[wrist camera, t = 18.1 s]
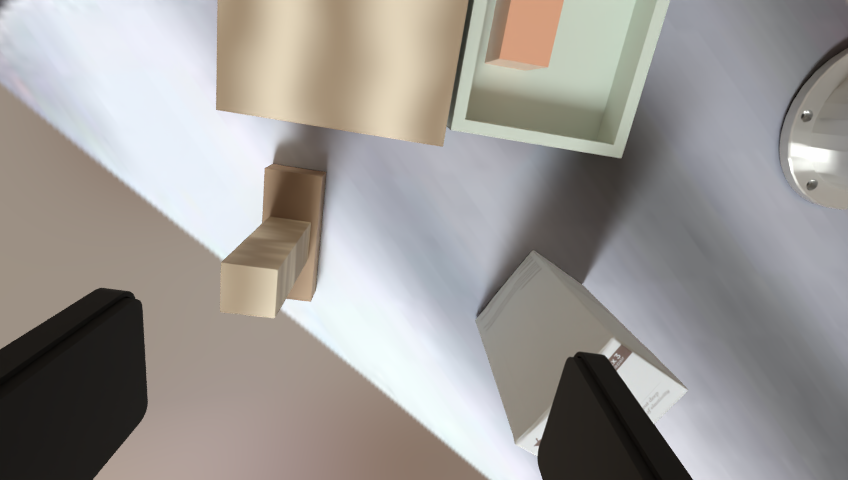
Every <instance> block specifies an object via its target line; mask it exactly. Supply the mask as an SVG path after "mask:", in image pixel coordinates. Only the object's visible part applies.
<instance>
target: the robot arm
mask: <svg viewBox="0 0 848 480" xmlns="http://www.w3.org/2000/svg"><path fill="white" fill-rule="evenodd" d="M779 151H780V162H781V166H782V170H783V173H784V176H785V178H786V180H787V181H788V183H789V184H790V186H791V188H792V189H793V190H794V191H795V192H796V193H798V194H799V195H800V196H801V197H802V198H804V199H806V200H808V201H810V202H811V203H814V204H818V205H821V206H824V207H828V208H834V209H840V210H844V209H848V48H847V49H845V50H844V51H842V52H840V53H839V54H837V55H836V56H834V57H833V58H831V59H830V60H828V61H827V62H826V63H825V64H824V65H823V66H821V67H820V68H819V69H818V70H817V71H816V72H815V73H814V74H813V75H812V76H811V77H810V79H809V80H808V81H807V82H806V83H805V84H804V85H803V87H802V88H801V90H800V91H799V93H798V94H797V96H796V98H795V99H794V101H793V102H792V105H791V107H790V109H789V111H788V113H787V115H786V118H785V121H784V125H783V128H782V132H781V138H780V148H779ZM145 364H146V363H145V346H144V328H143V310H142V304H141V302H140V301H139V300H137V299H135V297H134V294H133V293H131V292H129V291H122V290H114V289H106V288H99V289H96V290H94V291H93V292H91V293H90V294H88V295H86V296H85V297H83V298H82V299H80V300H78V301H77V302H75V303H74V304H72V305H70V306H69V307H68V308H66V309H64V310H62V311H61V312H59V313H58V314H56V315H55V316H53V317H51V318H50V319H48V320H47V321H45V322H44V323H42V324H40V325H39V326H37V327H36V328H34V329H32V330H31V331H29V332H27V333H26V334H24V335H23V336H21V337H19V338H18V339H16V340H15V341H13V342H11V343H10V344H8V345H7V346H5V347H4V348H2V349H0V480H93V478H94V477H95V476H96V475H97V474H98V472H99V471H100V470H101V469H102V468H103V466H104V465H105V464H106V463H107V462H108V460H109V459H110V458H111V457H112V456H113V454H114V453H115V452H116V451H117V449H118V448H119V447H120V446H121V445H122V444H123V442H124V441H125V440H126V439H127V437H128V436H129V435H130V434H131V433H132V431H133V430H134V429H135V428H136V427H137V425H138V424H139V423H140V422H141V420H142V419H143V417H144V415H145V413H146V409H147V404H148V401H147V400H148V399H147V384H146V383H147V381H146V365H145ZM538 466H539V469H540V473H541V476H542V479H543V480H693V479H692V478H691V476H690V475H689V473H688V472H687V470H686V469H685V468H684V466H683V465H682V463H681V462H680V460H679V459H678V458H677V456H676V455H675V453H674V452H673V451H672V449H671V448H670V446H669V445H668V443H667V442H666V441H665V439H664V438H663V436H662V435H661V433H660V432H659V431H658V429H657V428H656V426H655V425H654V424H653V422H652V421H651V419H650V418H649V416H648V415H647V414H646V412H645V411H644V409H643V408H642V407H641V405H640V404H639V402H638V401H637V399H636V398H635V397H634V395H633V394H632V392H631V391H630V389H629V388H628V387H627V385H626V384H625V382H624V381H623V380H622V378H621V377H620V375H619V374H618V372H617V371H616V370H615V368H614V367H613V365H612V364H611V362H610V361H609V360H608V358H607V357H606V356H605V355H602V354H595V353H588V352H580V351H579V352H577V353H576V354H575V355H574V357H568V358H567V360H566V362H565V365H564V368H563V371H562V375H561V378H560V381H559V384H558V387H557V391H556V394H555V397H554V400H553V403H552V407H551V410H550V413H549V416H548V419H547V423H546V426H545V429H544V432H543V435H542V439H541V442H540V445H539V449H538Z"/></svg>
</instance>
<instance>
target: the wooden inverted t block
mask: <svg viewBox="0 0 848 480" xmlns="http://www.w3.org/2000/svg"><path fill="white" fill-rule="evenodd" d="M325 183H326V172H323V171H317V170H310V169H303V168H297V167H290V166H284V165H277V164H271V165H270V166H268V167H266V168H265V175H264V196H263V217H262V224H261V225H260V226H259V227H258V228H257V229H256V230H255V231H254V232H253V233H252V234H251V235H250V236H248V237H247V238H246V239H245V240H244V241H243V242H242V243H241V244H240V245H239V246H238V247H237V248H236V249H235V250H234V251H233V252H232V253H231V254H230V255H228V256H227V257H226V258H225V259H224V260H223V261H222V262H221V292H220V294H221V296H220V312H225V313H234V314H242V315H250V316H259V317H267V318H275V317H276V315H277V314H278V312H279V310H280V308H281V307H282V305H283V303H284V301H285V299H294V300H302V301H310V302H311V300H312V298H313V295H314V293H315V291H316V280H317V269H318V258H319V248H320V237H321V226H322V215H323V204H324V194H325Z"/></svg>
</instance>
